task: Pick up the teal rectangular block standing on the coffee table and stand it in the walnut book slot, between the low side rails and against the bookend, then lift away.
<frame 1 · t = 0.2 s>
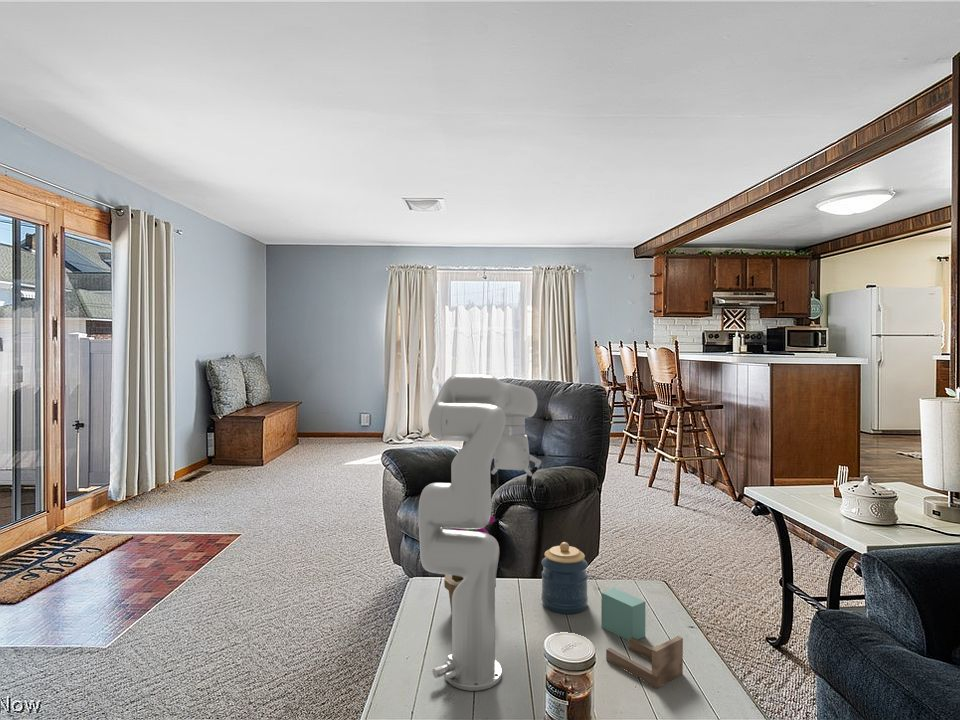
hand: (512, 487, 167), 31 cm above the table, tool pointing down, fingers open, 9 cm apart
book slot: (642, 666, 127), on the table
flowerpot: (470, 614, 153), on the table
teal rectangular block: (622, 631, 143), on the table
canister: (564, 604, 159), on the table
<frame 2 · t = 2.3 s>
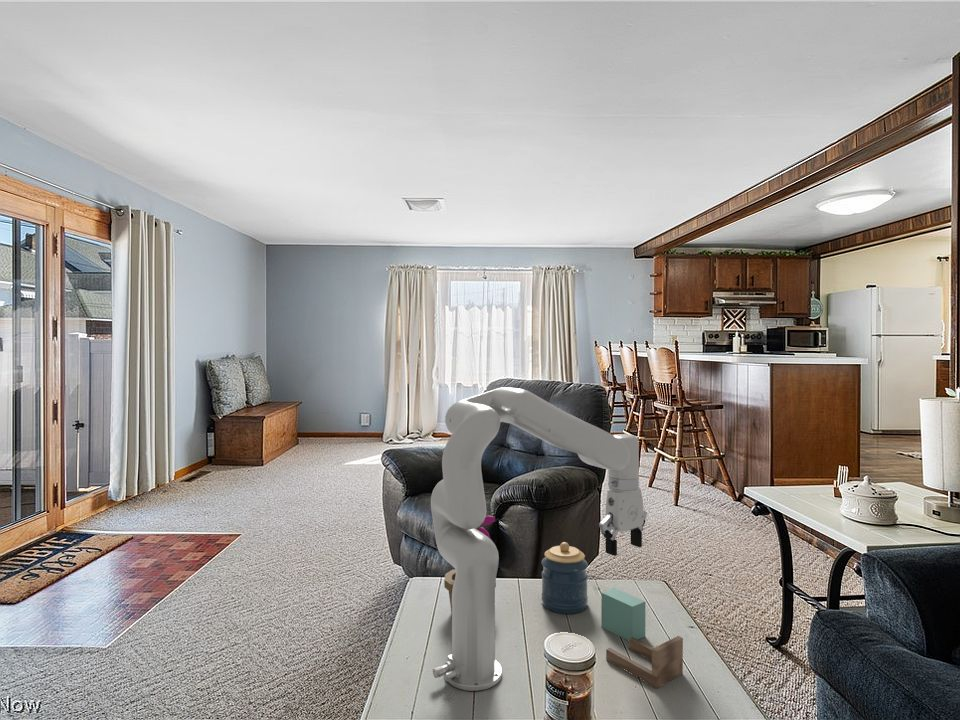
hand: (624, 549, 143), 21 cm above the table, tool pointing down, fingers open, 9 cm apart
nothing on the table moved.
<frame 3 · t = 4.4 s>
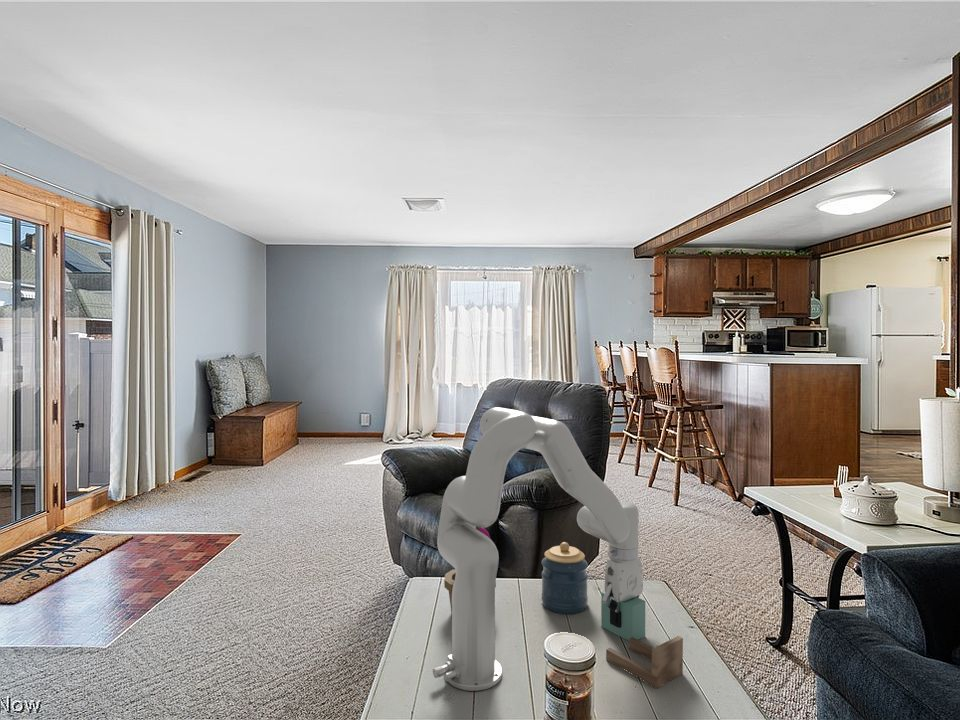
hand: (622, 621, 143), 2 cm above the table, tool pointing down, fingers closed on teal rectangular block, 5 cm apart
teal rectangular block: (622, 631, 143), on the table, touching gripper
everything else where it was.
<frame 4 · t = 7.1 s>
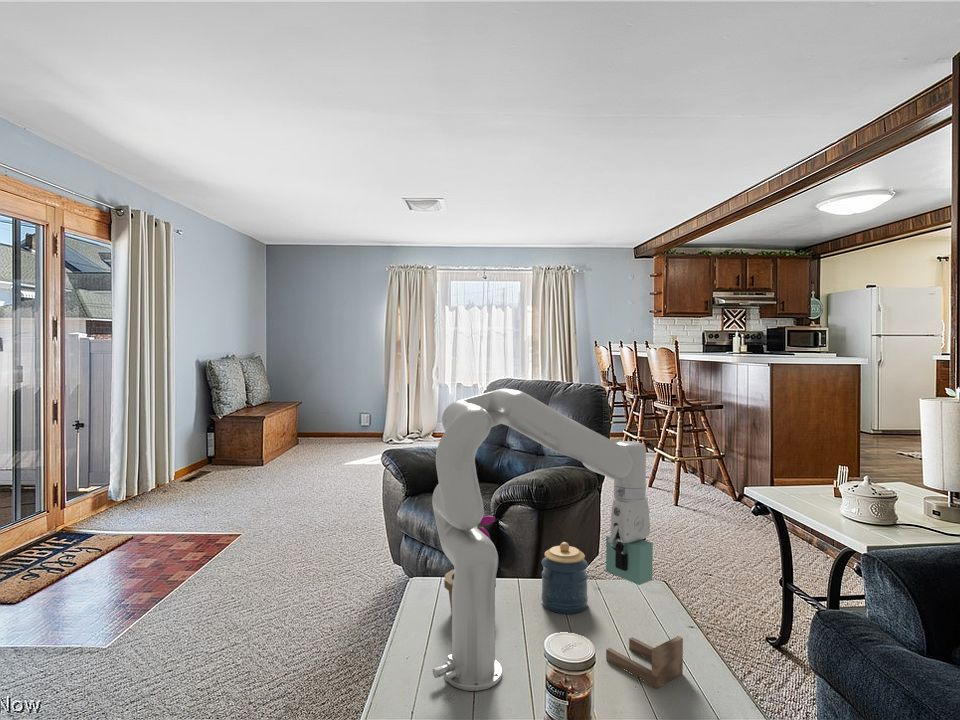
hand: (628, 565, 137), 19 cm above the table, tool pointing down, fingers closed on teal rectangular block, 5 cm apart
teal rectangular block: (628, 575, 137), point 17 cm above the table, touching gripper
everything else where it was.
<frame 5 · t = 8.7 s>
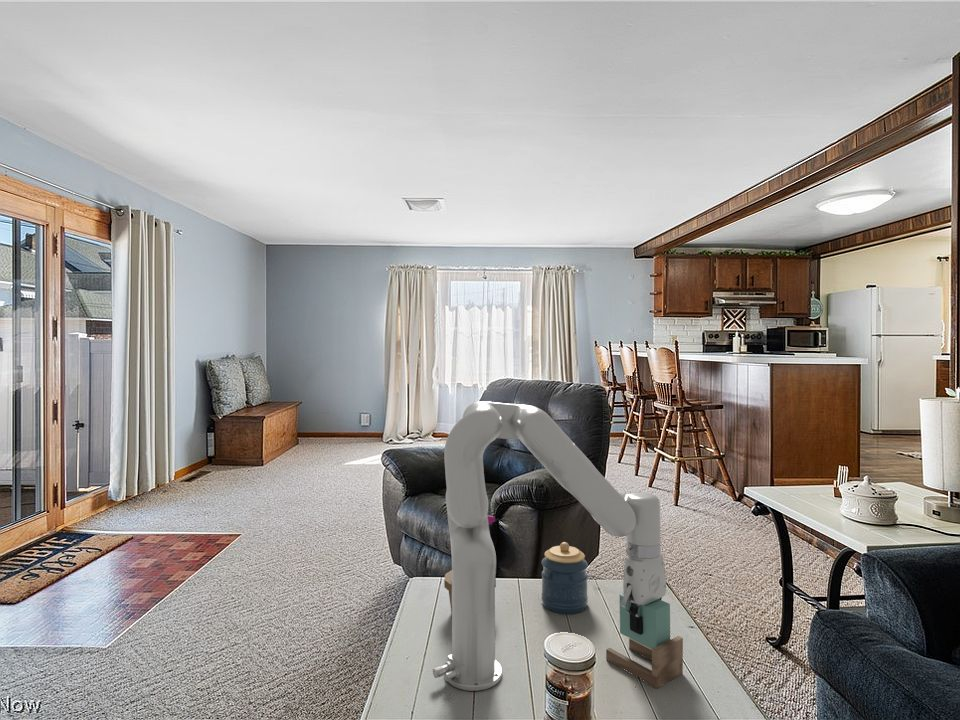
hand: (644, 627, 127), 9 cm above the table, tool pointing down, fingers closed on teal rectangular block, 5 cm apart
teal rectangular block: (644, 638, 127), point 6 cm above the table, touching gripper
everything else where it was.
when the fingers open (4 cm above the table, at t = 9.9 s): teal rectangular block drops 1 cm, resting in book slot.
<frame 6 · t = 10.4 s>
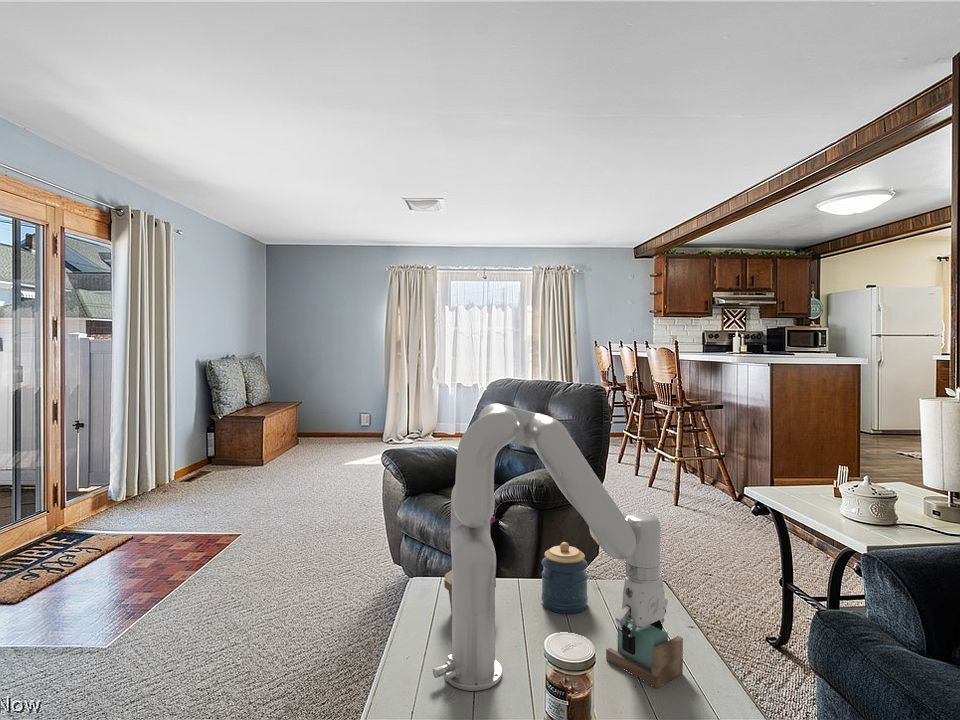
hand: (642, 645, 127), 5 cm above the table, tool pointing down, fingers open, 9 cm apart
teal rectangular block: (642, 666, 127), resting in book slot
everything else where it was.
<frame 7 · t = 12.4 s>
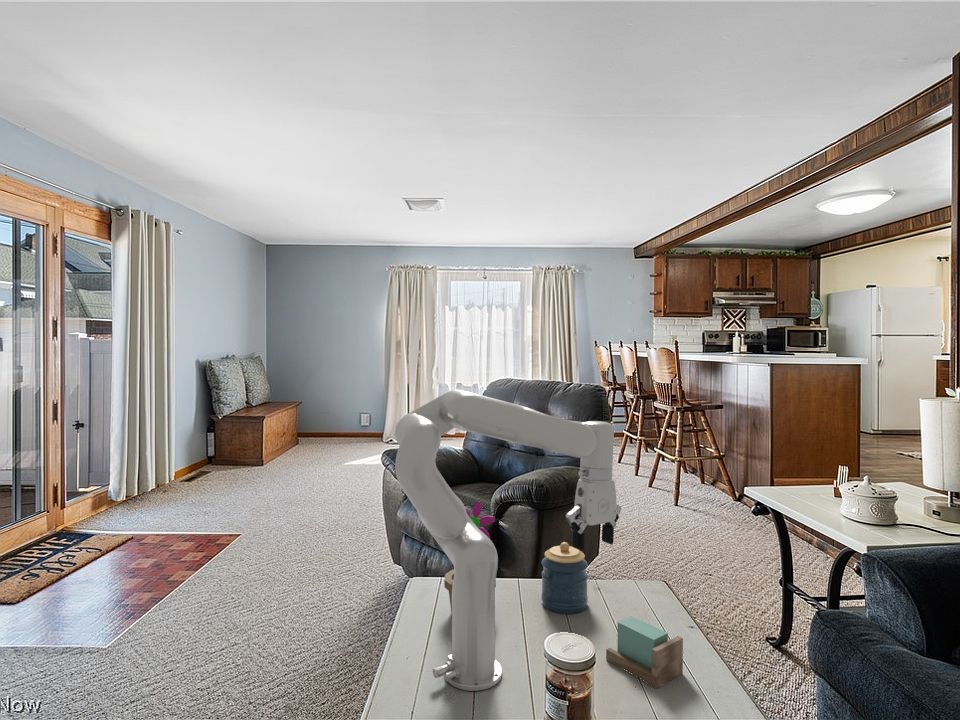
hand: (593, 545, 133), 26 cm above the table, tool pointing down, fingers open, 9 cm apart
nothing on the table moved.
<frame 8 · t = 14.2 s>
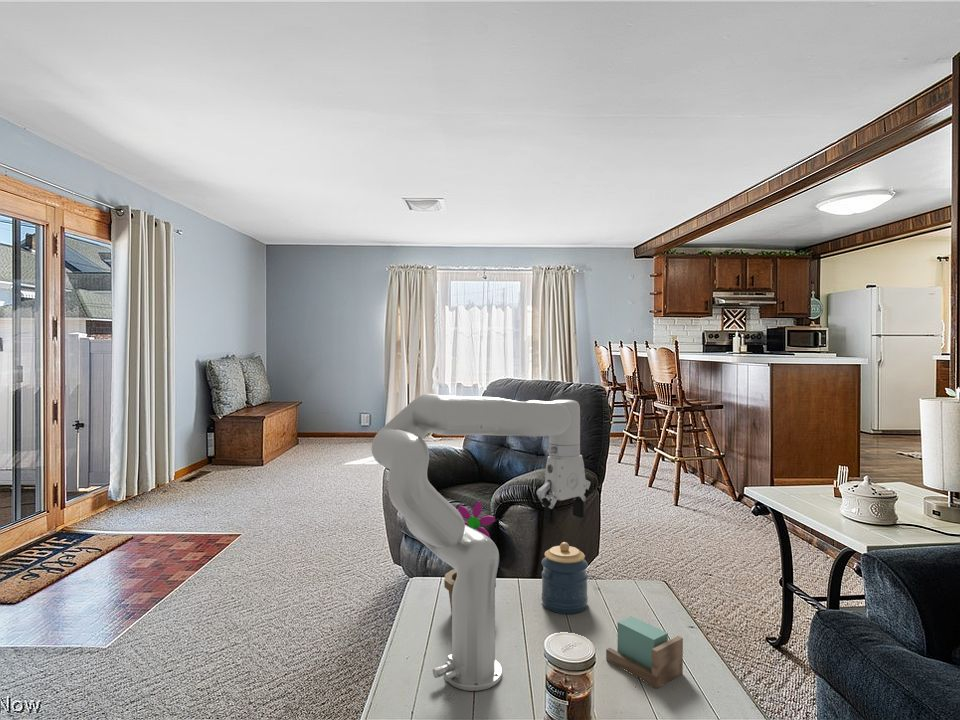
hand: (564, 520, 137), 30 cm above the table, tool pointing down, fingers open, 9 cm apart
nothing on the table moved.
at the end: teal rectangular block 0.1 cm off-centre on the book slot, point 0.0 cm above the book slot's base; teal rectangular block tilted 0°; the gripper is holding nothing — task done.
